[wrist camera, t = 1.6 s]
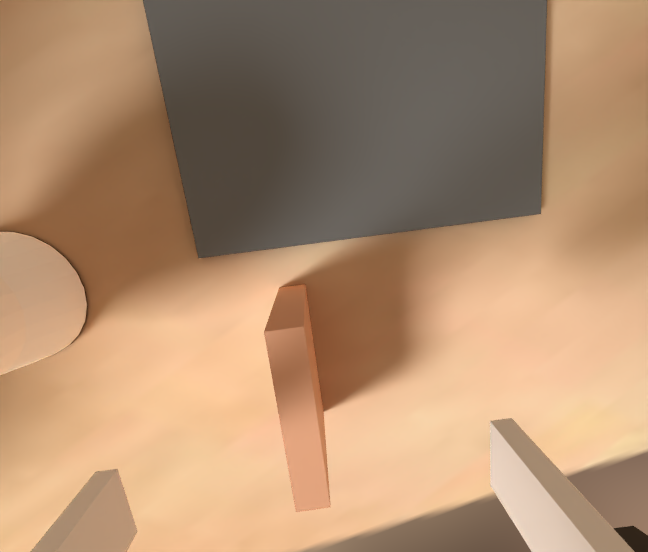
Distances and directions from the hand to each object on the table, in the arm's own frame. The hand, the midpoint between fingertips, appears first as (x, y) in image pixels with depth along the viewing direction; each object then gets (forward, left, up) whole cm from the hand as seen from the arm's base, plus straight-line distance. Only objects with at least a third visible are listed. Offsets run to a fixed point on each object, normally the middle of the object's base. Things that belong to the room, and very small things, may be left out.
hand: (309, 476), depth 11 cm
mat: (+5, +15, -10) cm, 18 cm away
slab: (0, 0, -10) cm, 10 cm away
